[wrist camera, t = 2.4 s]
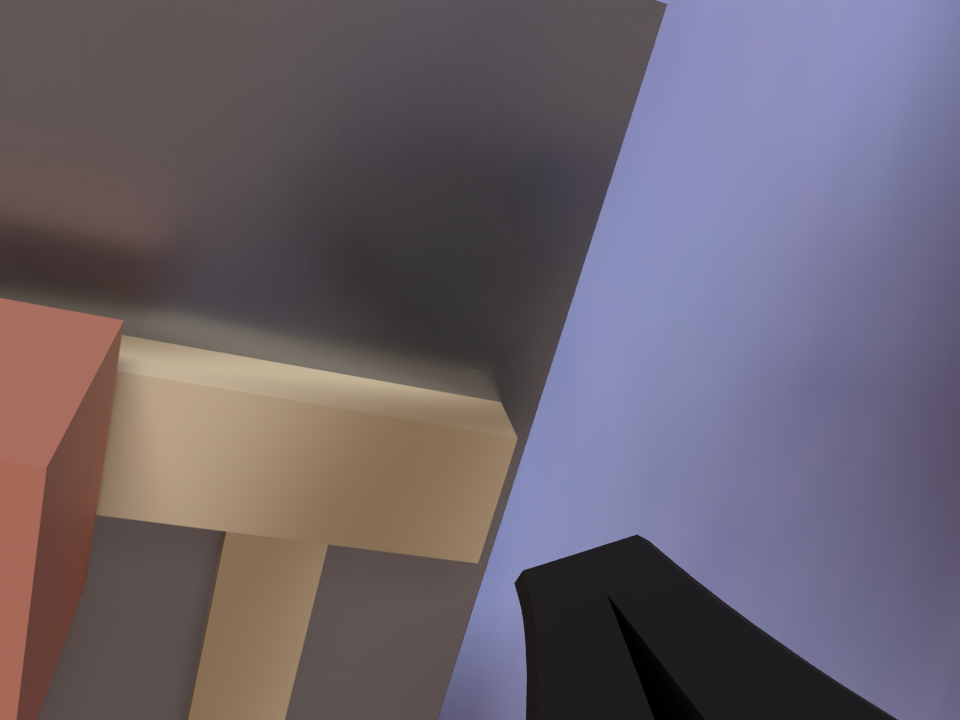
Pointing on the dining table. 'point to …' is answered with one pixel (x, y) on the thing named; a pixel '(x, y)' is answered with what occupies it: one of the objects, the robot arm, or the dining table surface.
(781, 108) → the dining table surface
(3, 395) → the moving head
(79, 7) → the bolt plate
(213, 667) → the beam
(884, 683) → the dining table surface
